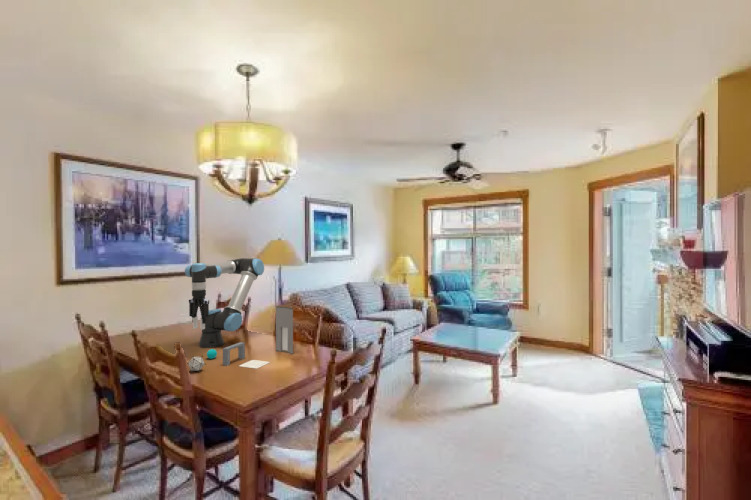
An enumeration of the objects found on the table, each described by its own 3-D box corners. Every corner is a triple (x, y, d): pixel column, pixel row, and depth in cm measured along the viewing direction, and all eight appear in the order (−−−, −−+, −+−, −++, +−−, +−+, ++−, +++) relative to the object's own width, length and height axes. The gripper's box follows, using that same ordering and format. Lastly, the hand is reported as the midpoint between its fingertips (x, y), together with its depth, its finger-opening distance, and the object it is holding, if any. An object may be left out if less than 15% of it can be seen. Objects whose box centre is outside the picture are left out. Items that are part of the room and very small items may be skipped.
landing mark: (238, 366, 209) (238, 365, 209) (252, 360, 221) (252, 359, 221) (256, 368, 205) (256, 368, 205) (270, 362, 216) (270, 361, 216)
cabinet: (292, 354, 233) (292, 308, 232) (276, 355, 230) (276, 308, 230) (290, 345, 253) (290, 303, 252) (275, 346, 250) (275, 303, 250)
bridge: (222, 365, 211) (222, 348, 211) (240, 357, 225) (240, 342, 225) (227, 365, 210) (227, 348, 210) (244, 358, 224) (244, 342, 224)
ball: (204, 359, 222) (204, 349, 222) (211, 356, 227) (211, 347, 227) (212, 360, 220) (212, 350, 220) (219, 357, 225) (219, 348, 225)
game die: (196, 379, 199) (190, 368, 193) (187, 371, 204) (180, 359, 197) (211, 367, 205) (205, 356, 199) (202, 359, 209) (196, 348, 203)
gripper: (182, 289, 226) (182, 328, 226) (206, 290, 219) (206, 331, 220) (192, 288, 233) (192, 326, 233) (215, 289, 226) (215, 328, 227)
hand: (199, 328), depth 226 cm, fingers open, 5 cm apart
